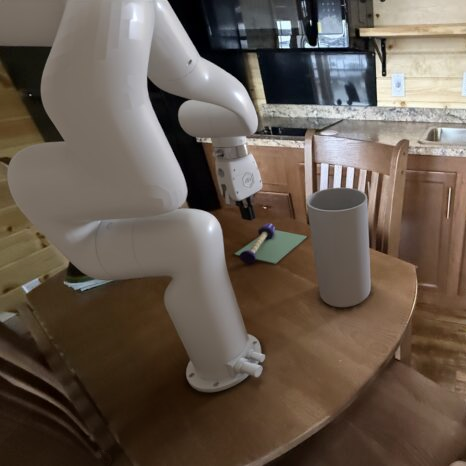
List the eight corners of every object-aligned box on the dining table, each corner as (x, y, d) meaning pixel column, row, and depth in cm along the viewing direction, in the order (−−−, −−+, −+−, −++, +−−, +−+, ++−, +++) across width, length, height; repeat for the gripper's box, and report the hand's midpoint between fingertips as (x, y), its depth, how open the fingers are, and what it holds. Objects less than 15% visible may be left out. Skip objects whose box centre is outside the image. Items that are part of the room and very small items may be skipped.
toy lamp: (235, 251, 85) (261, 220, 99) (240, 265, 88) (265, 232, 102) (252, 252, 85) (276, 220, 99) (257, 265, 88) (280, 232, 102)
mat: (306, 237, 101) (306, 236, 101) (274, 264, 88) (274, 263, 87) (270, 230, 105) (270, 229, 104) (234, 255, 91) (234, 253, 91)
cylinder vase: (309, 299, 75) (293, 203, 63) (339, 271, 85) (330, 184, 73) (353, 315, 71) (345, 216, 58) (379, 284, 81) (377, 193, 68)
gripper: (220, 161, 69) (240, 233, 78) (265, 145, 81) (278, 209, 90) (193, 158, 71) (216, 229, 80) (241, 142, 83) (256, 205, 92)
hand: (249, 218), depth 85 cm, fingers closed
